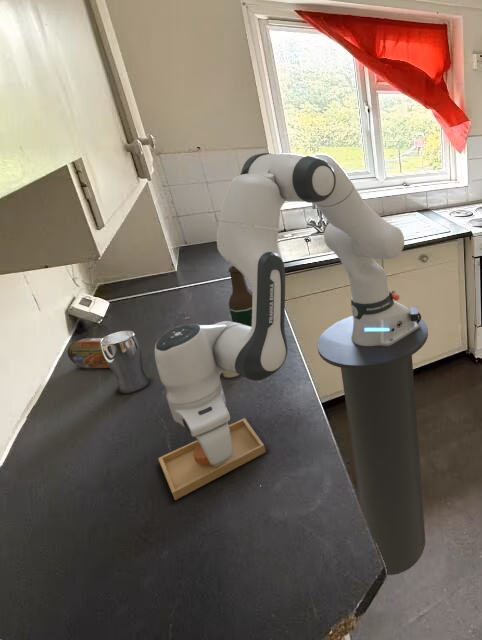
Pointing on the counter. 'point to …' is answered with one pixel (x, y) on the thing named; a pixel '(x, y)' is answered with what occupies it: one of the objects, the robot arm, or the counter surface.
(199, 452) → the lid
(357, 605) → the counter surface
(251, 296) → the beer bottle
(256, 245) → the robot arm
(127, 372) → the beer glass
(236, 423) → the tray
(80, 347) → the tin
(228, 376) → the jar
